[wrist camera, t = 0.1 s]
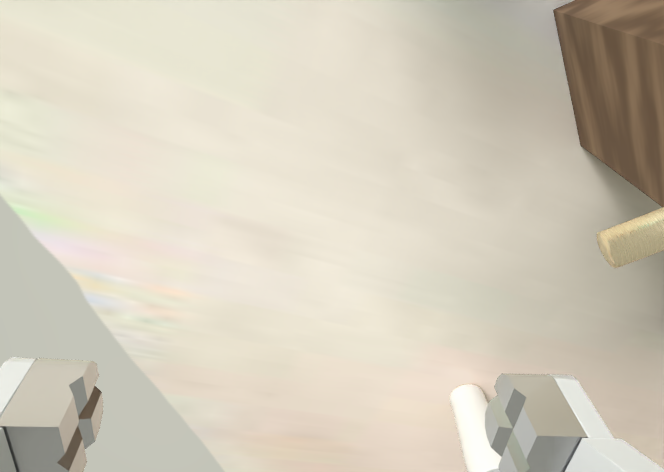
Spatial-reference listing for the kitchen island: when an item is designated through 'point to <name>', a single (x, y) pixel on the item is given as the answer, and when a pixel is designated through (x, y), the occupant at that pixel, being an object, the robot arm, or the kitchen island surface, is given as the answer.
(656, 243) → the brass handle with plate
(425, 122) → the kitchen island surface
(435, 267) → the kitchen island surface
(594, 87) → the lidded wooden box
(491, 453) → the drinking glass
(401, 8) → the kitchen island surface
